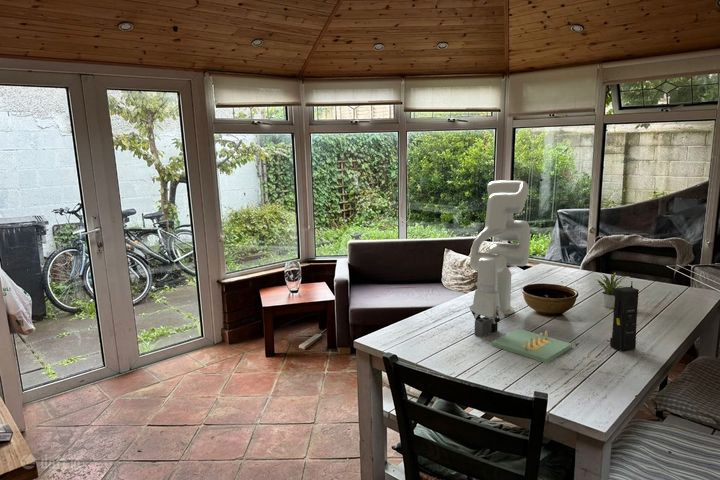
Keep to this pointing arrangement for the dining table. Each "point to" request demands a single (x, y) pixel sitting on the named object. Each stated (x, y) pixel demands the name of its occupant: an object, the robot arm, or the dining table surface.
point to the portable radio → (625, 318)
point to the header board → (532, 345)
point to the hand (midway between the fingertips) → (486, 329)
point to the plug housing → (483, 326)
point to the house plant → (609, 290)
